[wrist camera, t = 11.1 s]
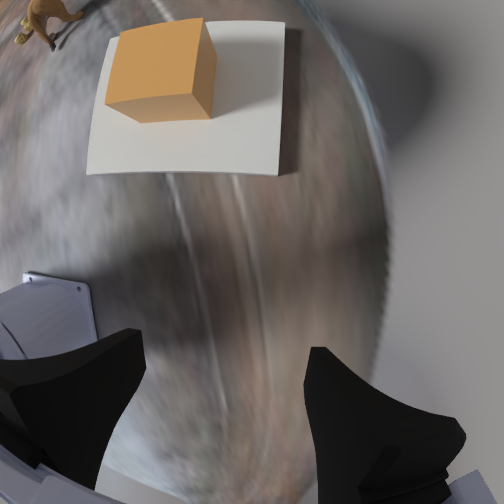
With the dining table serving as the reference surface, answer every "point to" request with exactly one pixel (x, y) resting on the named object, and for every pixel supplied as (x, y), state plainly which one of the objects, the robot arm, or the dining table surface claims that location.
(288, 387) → the dining table surface
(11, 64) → the dining table surface
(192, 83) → the orange cube
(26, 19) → the dice set
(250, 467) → the dining table surface
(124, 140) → the plate
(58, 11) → the lion figurine
